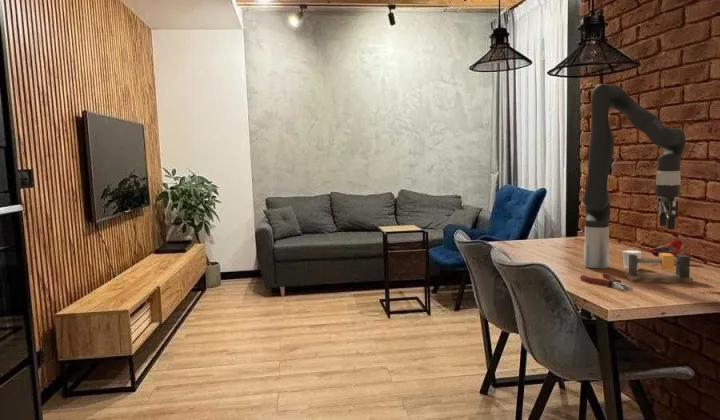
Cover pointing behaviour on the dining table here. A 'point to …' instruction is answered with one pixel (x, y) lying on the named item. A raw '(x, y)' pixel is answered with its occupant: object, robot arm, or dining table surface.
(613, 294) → the dining table surface
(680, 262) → the stand
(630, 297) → the dining table surface
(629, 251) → the white cup
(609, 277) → the pliers
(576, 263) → the dining table surface
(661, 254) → the marker sleeve
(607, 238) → the robot arm
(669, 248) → the decorative bird figurine
